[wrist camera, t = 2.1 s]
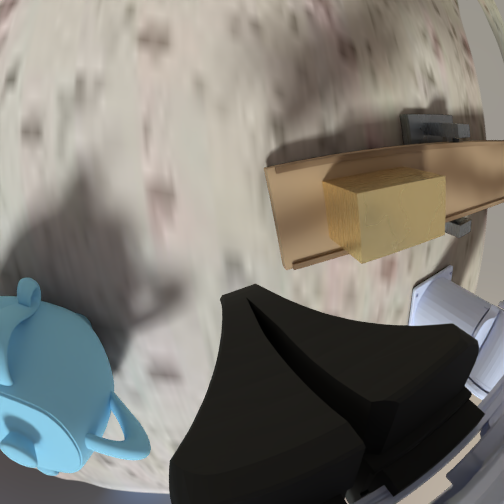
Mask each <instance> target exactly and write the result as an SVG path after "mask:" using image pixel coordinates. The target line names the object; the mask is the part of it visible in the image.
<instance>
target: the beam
mask: <svg viewBox="0 0 504 504" xmlns="http://www.w3.org/2000/svg"><path fill="white" fill-rule="evenodd" d="M403 166H404V167H409V168H413V169H418V170H422V171H427V172H431V173H435V174H439V175H443V176H445V180H446V216H445V223H447V222H449V221H452V220H455V219H461V217H464V216H467V215H470V214H473V213H475V212H478V211H481V210H484V209H487V208H489V207H492V206H495V205H498V204H500V203H503V202H504V140H479V141H459V139H457V138H452V142H436V143H423V144H411V145H401V146H392V147H383V148H375V149H368V150H360V151H353V152H347V153H340V154H334V155H328V156H322V157H316V158H310V159H305V160H300V161H294V162H289V163H284V164H279V165H275V166H270V167H265V168H264V171H265V176H266V181H267V186H268V190H269V195H270V200H271V205H272V210H273V216H274V221H275V226H276V231H277V236H278V242H279V247H280V252H281V258H282V263H283V266H284V268H285V269H286V270H288V269H292V268H293V269H294V270H296V269H300V268H303V267H306V266H310V265H313V264H317V263H320V262H324V261H327V260H330V259H334V258H337V257H340V256H344V255H347V254H349V253H348V252H347V251H345V250H344V249H343V248H342V247H340V246H339V245H338V244H337V243H335V242H334V241H333V240H332V239H330V238H329V230H328V222H327V214H326V206H325V199H324V192H323V185H322V181H325V180H330V179H335V178H340V177H346V176H351V175H356V174H362V173H367V172H373V171H378V170H384V169H390V168H396V167H403Z"/></svg>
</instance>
